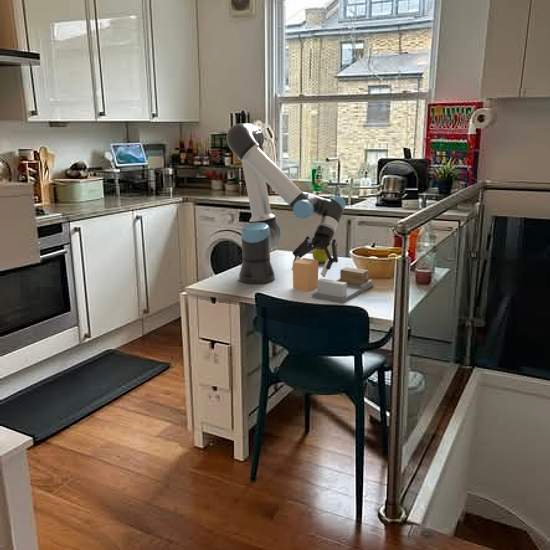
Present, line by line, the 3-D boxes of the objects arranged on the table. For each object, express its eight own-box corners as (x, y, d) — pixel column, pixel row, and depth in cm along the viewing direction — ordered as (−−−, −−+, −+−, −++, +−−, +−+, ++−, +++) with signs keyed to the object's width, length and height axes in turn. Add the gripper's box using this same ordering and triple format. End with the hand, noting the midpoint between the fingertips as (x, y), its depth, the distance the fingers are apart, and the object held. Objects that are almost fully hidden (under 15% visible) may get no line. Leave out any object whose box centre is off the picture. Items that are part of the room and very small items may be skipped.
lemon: (320, 265, 254) (320, 248, 252) (308, 262, 260) (308, 246, 258) (335, 261, 261) (336, 245, 259) (323, 258, 267) (324, 242, 265)
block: (303, 283, 227) (303, 257, 224) (318, 286, 224) (318, 260, 220) (293, 288, 221) (292, 262, 218) (307, 291, 217) (307, 264, 214)
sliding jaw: (346, 278, 227) (346, 266, 226) (368, 282, 222) (368, 270, 220) (340, 281, 223) (340, 269, 222) (362, 285, 218) (362, 273, 216)
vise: (344, 280, 230) (344, 265, 228) (373, 285, 223) (373, 270, 221) (312, 297, 209) (312, 281, 208) (342, 303, 202) (342, 286, 200)
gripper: (356, 237, 224) (338, 282, 216) (303, 232, 238) (285, 273, 230) (350, 227, 218) (332, 272, 211) (297, 222, 232) (278, 264, 224)
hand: (307, 273), depth 220 cm, fingers open, 13 cm apart
